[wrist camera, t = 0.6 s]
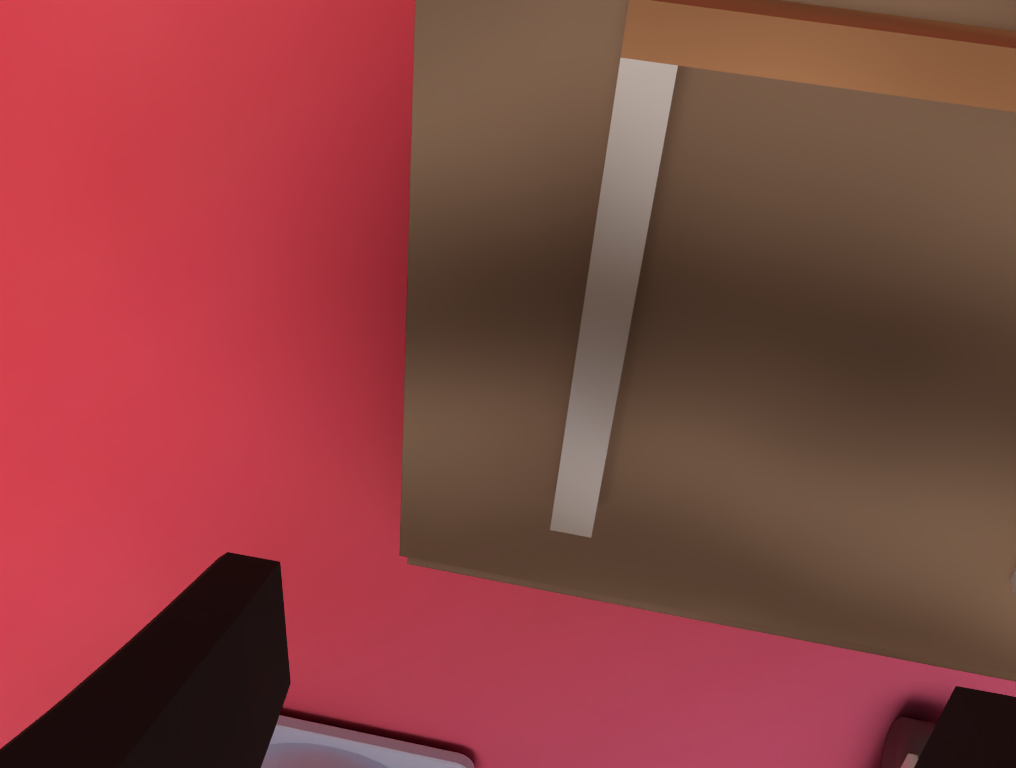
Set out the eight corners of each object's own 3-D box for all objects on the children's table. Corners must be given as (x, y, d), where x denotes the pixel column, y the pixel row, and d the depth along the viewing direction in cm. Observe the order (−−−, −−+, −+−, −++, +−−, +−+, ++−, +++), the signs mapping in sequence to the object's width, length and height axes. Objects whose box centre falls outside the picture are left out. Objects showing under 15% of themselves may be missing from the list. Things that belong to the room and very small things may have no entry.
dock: (1120, 675, 21) (1161, 776, 19) (415, 541, 23) (386, 620, 21) (1570, 24, 13) (1721, 78, 11) (442, -115, 15) (399, -89, 13)
